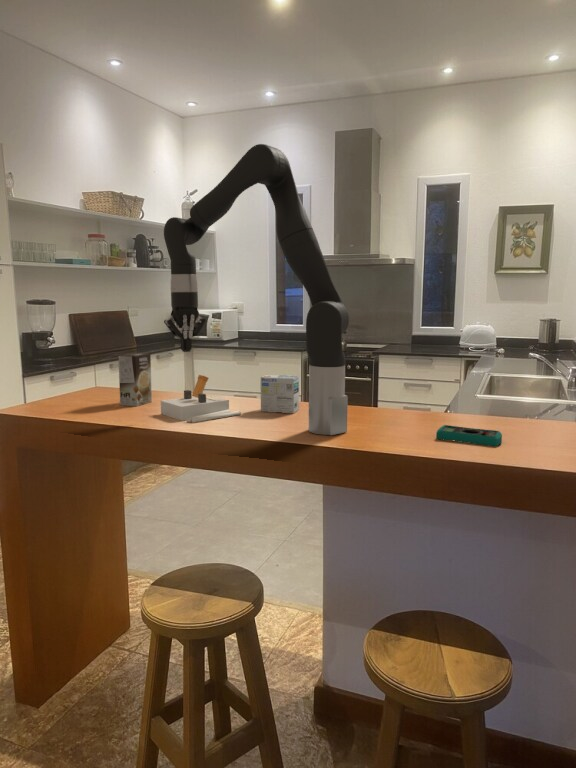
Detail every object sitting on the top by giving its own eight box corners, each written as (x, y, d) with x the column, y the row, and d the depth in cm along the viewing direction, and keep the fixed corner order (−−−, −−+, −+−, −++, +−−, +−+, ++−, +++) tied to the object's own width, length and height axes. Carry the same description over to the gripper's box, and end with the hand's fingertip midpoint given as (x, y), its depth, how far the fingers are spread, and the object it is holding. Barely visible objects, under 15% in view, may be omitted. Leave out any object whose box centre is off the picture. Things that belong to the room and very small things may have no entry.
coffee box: (137, 406, 178) (135, 356, 176) (119, 405, 180) (117, 355, 178) (152, 401, 187) (150, 353, 185) (135, 400, 189) (133, 352, 187)
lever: (200, 398, 167) (208, 377, 168) (196, 397, 166) (204, 376, 167) (195, 397, 169) (203, 376, 170) (191, 395, 168) (199, 374, 169)
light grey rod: (240, 415, 166) (240, 411, 166) (193, 423, 156) (193, 418, 156) (238, 414, 167) (238, 410, 167) (191, 422, 157) (191, 418, 157)
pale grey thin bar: (230, 413, 168) (230, 409, 168) (189, 422, 156) (189, 418, 156) (227, 413, 169) (227, 409, 169) (186, 422, 157) (186, 417, 157)
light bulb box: (299, 409, 175) (299, 375, 173) (294, 414, 168) (294, 378, 167) (266, 407, 177) (266, 373, 176) (260, 412, 171) (259, 376, 169)
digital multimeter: (499, 448, 132) (499, 436, 132) (434, 441, 139) (435, 429, 138) (503, 441, 139) (503, 430, 138) (441, 434, 145) (442, 423, 145)
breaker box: (229, 413, 169) (228, 392, 168) (182, 420, 159) (181, 398, 158) (206, 407, 178) (206, 387, 177) (161, 414, 168) (160, 392, 167)
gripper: (170, 290, 154) (172, 354, 157) (211, 290, 163) (212, 350, 165) (156, 291, 160) (159, 352, 162) (197, 291, 168) (199, 349, 171)
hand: (186, 351), depth 164 cm, fingers closed
